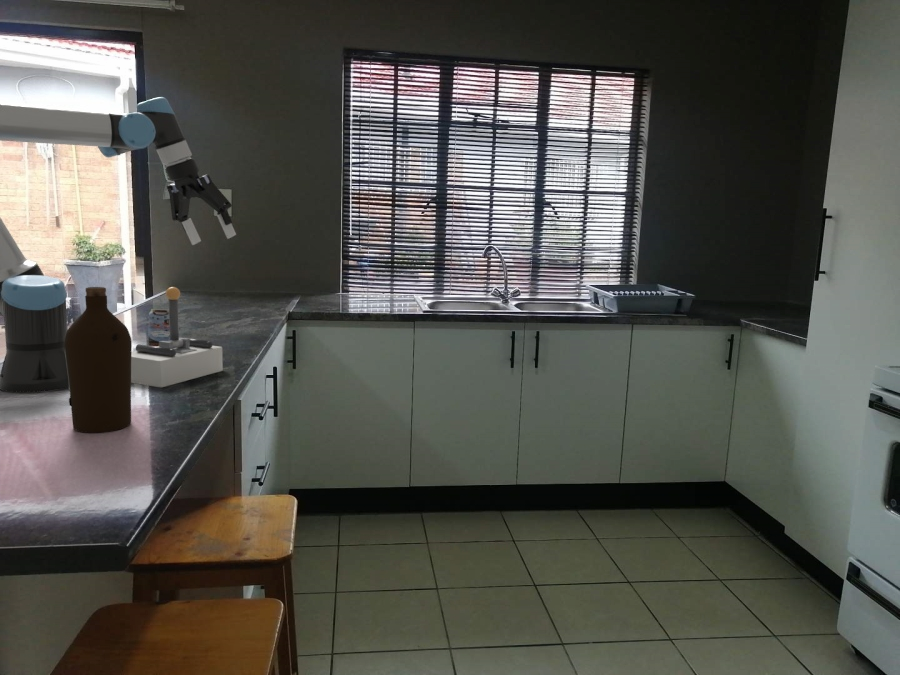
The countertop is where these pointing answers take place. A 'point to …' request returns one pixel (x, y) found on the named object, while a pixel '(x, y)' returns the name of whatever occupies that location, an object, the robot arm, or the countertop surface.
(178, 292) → the lever
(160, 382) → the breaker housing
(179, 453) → the countertop surface
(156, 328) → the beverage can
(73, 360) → the olive oil
